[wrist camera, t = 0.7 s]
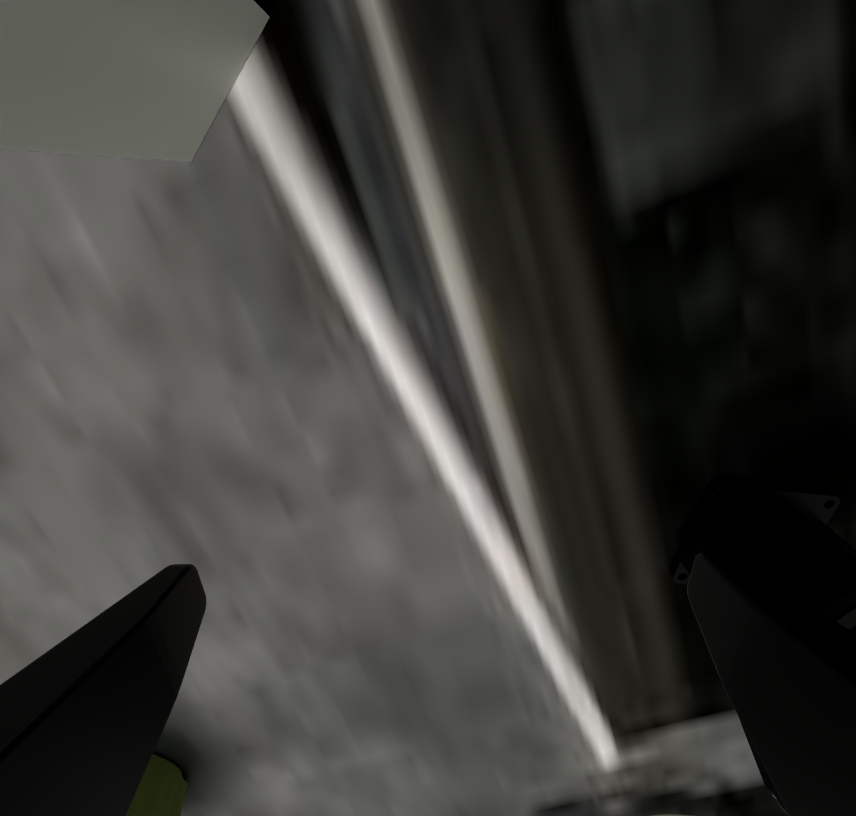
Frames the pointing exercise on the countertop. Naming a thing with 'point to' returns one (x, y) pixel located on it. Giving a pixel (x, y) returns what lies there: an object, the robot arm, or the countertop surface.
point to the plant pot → (159, 790)
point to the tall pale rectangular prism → (119, 73)
